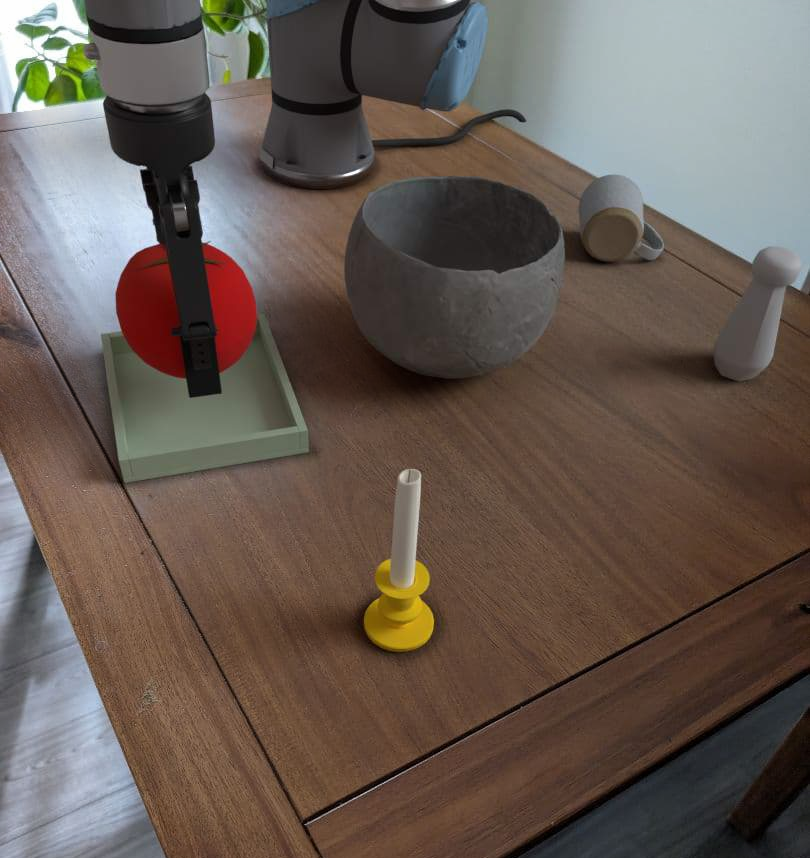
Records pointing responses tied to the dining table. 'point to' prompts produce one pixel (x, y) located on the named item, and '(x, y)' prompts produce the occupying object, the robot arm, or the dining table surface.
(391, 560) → the candle
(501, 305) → the bowl
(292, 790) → the dining table surface
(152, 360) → the tomato
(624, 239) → the ceramic mug
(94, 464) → the dining table surface
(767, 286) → the salt shaker
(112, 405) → the tray
